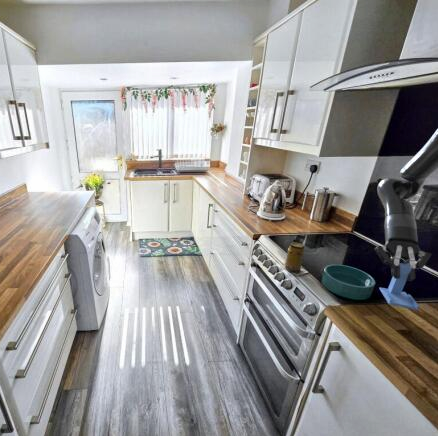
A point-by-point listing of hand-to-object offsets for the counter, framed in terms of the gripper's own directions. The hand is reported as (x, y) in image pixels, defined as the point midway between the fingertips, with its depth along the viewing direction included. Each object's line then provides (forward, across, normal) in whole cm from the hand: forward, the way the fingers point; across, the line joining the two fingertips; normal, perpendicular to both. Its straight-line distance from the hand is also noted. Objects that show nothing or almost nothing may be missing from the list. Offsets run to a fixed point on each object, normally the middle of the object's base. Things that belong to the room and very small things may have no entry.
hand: (403, 279), depth 76 cm
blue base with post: (+6, 0, +4) cm, 7 cm away
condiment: (-3, -27, +23) cm, 35 cm away
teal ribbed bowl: (+2, -10, +18) cm, 20 cm away
